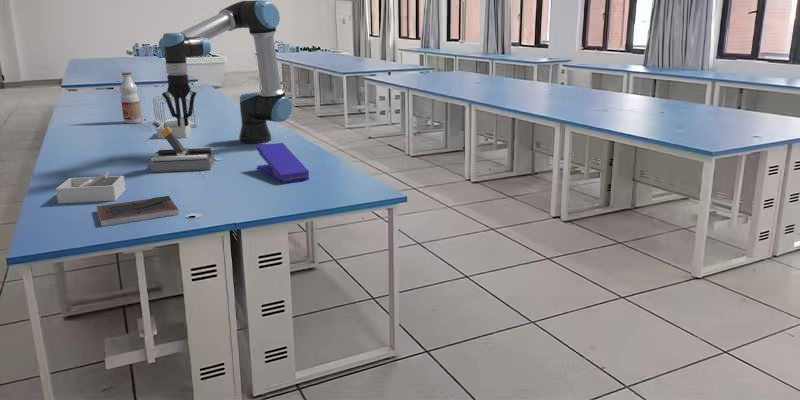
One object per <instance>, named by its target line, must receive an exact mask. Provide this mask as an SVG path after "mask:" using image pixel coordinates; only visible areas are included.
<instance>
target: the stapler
mask: <svg viewBox="0 0 800 400" xmlns="http://www.w3.org/2000/svg"><path fill="white" fill-rule="evenodd" d="M256 150H257V151H258V153H259V154H258V155H259V156H260V157H261V158H262V159H263V160H264V162H265V163H266V164H261V165H257V167H256V168H257V169H258V170H260V172H261V171H262V172H263V173H265V174H267V175H268V176H270V177H272V178H274V179H275V180H277V181H279V182H280V183H282V184H289V183H295V182H296V183H297V182H301V181H307V180H308V181H309V180H310V179H309V178H310V175H309V173H310V171H309V170H308V169H307V168H306V167H305V165H304V164H303V163H302V162H301V161H300V160H299V158H298V157H297V156H295V154H293V152H292V151H291V150H290V149H289V148H288V147H287V146H286V145H285V144H284V142H278V143H269V144H260V145H258V144H257V145H256Z"/></svg>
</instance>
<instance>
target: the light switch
mask: <svg viewBox="0 0 800 400" xmlns="http://www.w3.org/2000/svg"><path fill="white" fill-rule="evenodd" d="M108 176H110V171H108V170H105V171H104V172H102V173H100V174H98V175H97V176H94V177H95V178H94V179H92V180H91V179H89V180H88V181H86V182H85V183H83V184H82V185H80V187H90V186H96V185H97V184H99V183H100V182H102V181H104V180H105V179H107V177H108Z"/></svg>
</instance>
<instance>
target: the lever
mask: <svg viewBox="0 0 800 400" xmlns="http://www.w3.org/2000/svg"><path fill="white" fill-rule="evenodd" d="M161 133H162V135H163V136H164V137H165V138H166V139H165V140H166V141H167V142H168V144H169V145H170V147H172V149H174V150H175V152H176V153H180V152H181V151H183V149H184V148H185V147H184V146H183V144H182V143H181V142H180V140H179V138H176V136H175V135H174V134H173V132H172V130H171V129H170V127H169V126H168V127H167V128H165V129H163V130H162V131H161ZM182 153H185V154H186V151H183V152H182Z"/></svg>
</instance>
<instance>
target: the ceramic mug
mask: <svg viewBox="0 0 800 400" xmlns="http://www.w3.org/2000/svg"><path fill="white" fill-rule="evenodd" d="M168 126H169V127H170V128H181V126H178V122H177V120H176V121H168V122H165V123H164V128H167V127H168Z"/></svg>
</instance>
